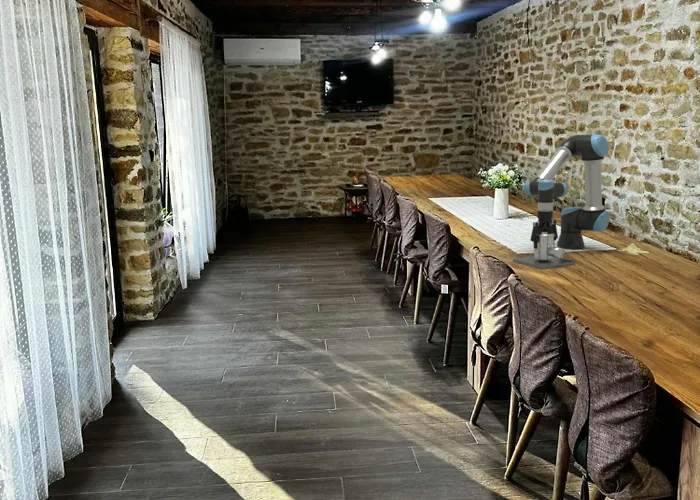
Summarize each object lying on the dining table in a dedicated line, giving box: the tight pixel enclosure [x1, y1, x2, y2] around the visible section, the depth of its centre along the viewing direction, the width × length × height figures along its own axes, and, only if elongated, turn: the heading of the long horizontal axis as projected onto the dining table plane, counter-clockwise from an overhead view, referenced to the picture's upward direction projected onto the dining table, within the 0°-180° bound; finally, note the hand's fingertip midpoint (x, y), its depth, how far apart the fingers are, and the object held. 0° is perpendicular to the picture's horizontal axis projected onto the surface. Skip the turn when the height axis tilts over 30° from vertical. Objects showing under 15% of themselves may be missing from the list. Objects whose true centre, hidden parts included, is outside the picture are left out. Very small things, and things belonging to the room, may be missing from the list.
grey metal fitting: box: [533, 232, 566, 260], centre depth 311 cm, size 17×10×13 cm, turn 27°
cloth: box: [617, 242, 649, 256], centre depth 343 cm, size 22×19×6 cm
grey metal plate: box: [512, 255, 576, 270], centre depth 315 cm, size 22×22×10 cm
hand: (543, 253), depth 315 cm, fingers closed on grey metal fitting, 9 cm apart
